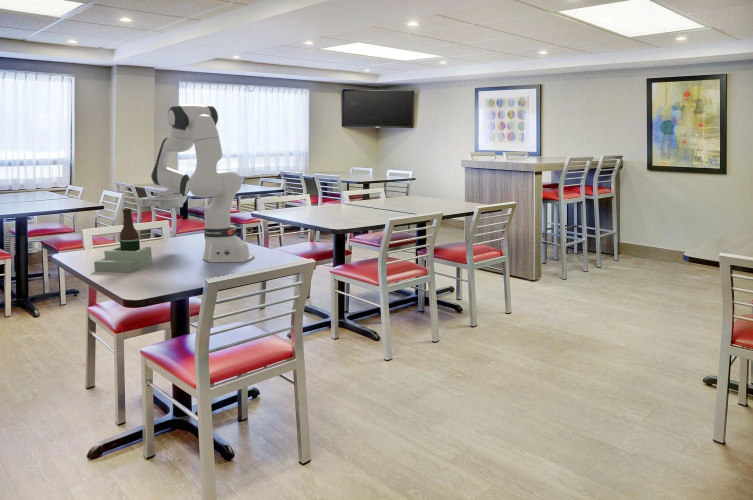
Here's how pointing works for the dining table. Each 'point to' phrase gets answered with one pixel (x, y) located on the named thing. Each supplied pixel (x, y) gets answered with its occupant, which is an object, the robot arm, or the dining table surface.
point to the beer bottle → (129, 233)
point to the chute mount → (123, 260)
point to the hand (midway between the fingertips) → (151, 203)
